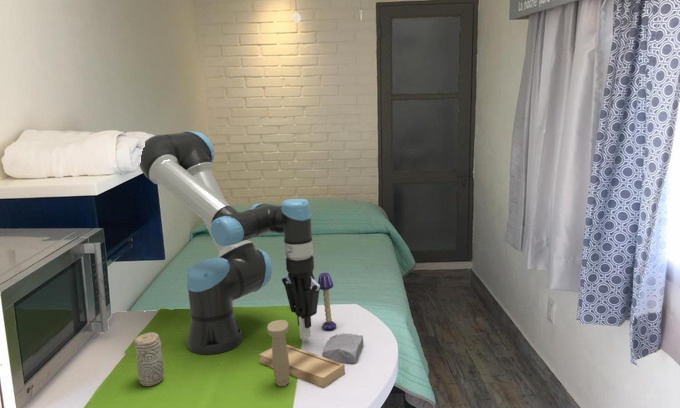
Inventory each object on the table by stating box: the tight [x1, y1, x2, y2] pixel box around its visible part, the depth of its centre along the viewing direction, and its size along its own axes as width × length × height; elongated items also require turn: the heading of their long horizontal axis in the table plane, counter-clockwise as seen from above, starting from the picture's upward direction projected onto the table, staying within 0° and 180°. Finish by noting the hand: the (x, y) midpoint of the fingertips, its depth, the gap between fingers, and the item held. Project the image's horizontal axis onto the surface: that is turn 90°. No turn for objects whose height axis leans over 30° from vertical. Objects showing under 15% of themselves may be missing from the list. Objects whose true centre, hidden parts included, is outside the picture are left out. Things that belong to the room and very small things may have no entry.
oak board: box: [258, 344, 346, 388], centre depth 142 cm, size 22×8×3 cm, turn 51°
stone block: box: [322, 332, 364, 365], centre depth 149 cm, size 12×5×10 cm
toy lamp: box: [317, 272, 337, 332], centre depth 163 cm, size 5×5×17 cm
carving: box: [134, 331, 165, 387], centre depth 138 cm, size 6×8×12 cm
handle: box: [266, 319, 290, 387], centre depth 133 cm, size 5×6×15 cm
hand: (305, 337), depth 156 cm, fingers closed
